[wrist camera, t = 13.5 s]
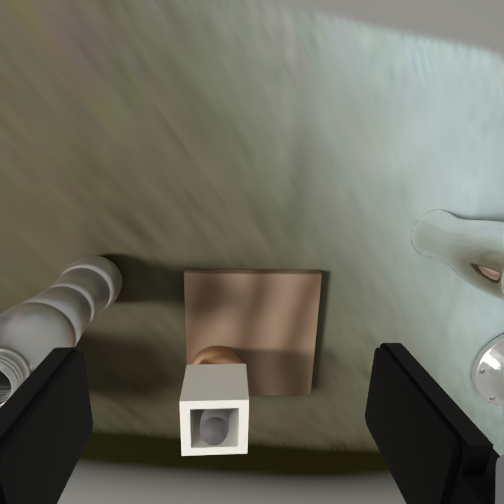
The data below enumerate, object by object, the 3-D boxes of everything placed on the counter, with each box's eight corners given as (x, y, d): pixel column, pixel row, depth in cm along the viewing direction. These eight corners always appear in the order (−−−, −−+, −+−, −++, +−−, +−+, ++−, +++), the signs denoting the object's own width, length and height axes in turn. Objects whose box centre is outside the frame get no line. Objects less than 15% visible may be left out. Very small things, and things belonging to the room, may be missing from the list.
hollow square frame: (245, 363, 39) (248, 399, 33) (244, 411, 41) (247, 453, 35) (186, 364, 39) (179, 401, 33) (188, 413, 41) (181, 455, 35)
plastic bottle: (138, 277, 41) (59, 386, 22) (100, 310, 42) (-7, 442, 23) (98, 240, 39) (-25, 322, 20) (60, 275, 40) (-93, 386, 21)
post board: (318, 269, 42) (356, 318, 30) (308, 387, 47) (336, 469, 35) (185, 269, 41) (166, 319, 29) (189, 389, 46) (174, 476, 34)
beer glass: (451, 261, 43) (562, 314, 29) (401, 257, 43) (489, 309, 28) (466, 208, 41) (593, 238, 27) (414, 203, 41) (515, 231, 26)
